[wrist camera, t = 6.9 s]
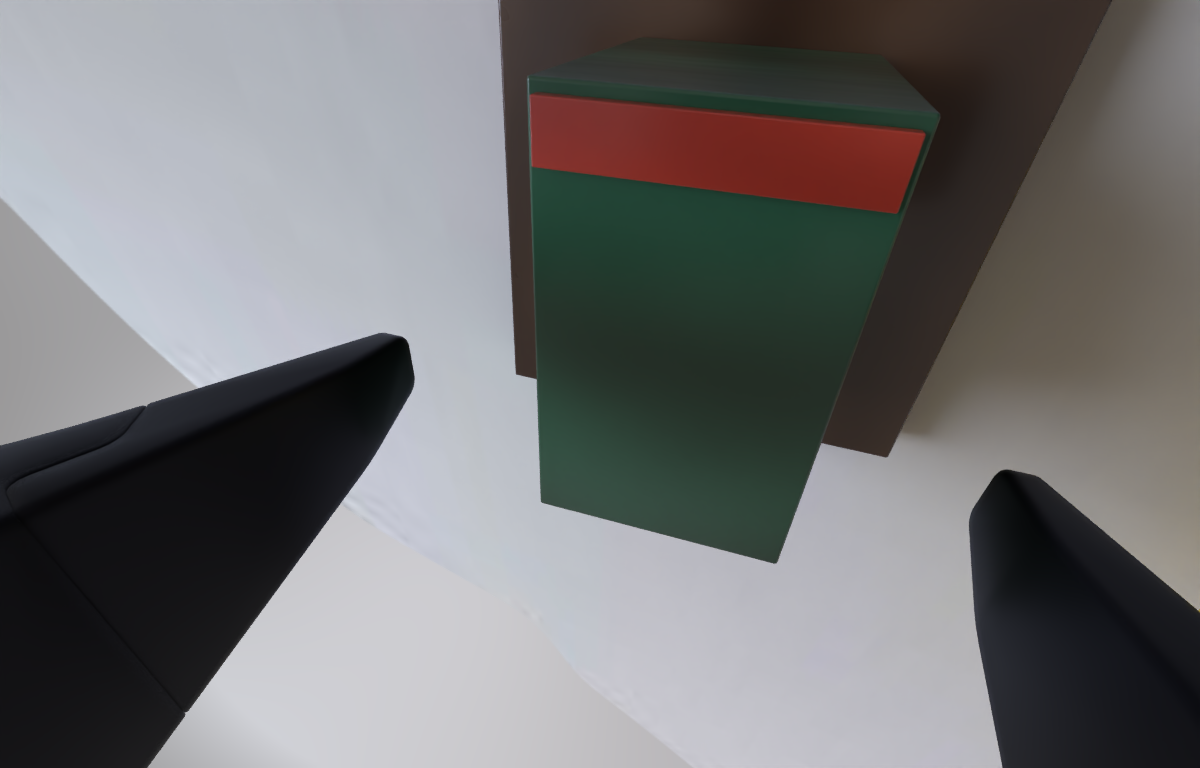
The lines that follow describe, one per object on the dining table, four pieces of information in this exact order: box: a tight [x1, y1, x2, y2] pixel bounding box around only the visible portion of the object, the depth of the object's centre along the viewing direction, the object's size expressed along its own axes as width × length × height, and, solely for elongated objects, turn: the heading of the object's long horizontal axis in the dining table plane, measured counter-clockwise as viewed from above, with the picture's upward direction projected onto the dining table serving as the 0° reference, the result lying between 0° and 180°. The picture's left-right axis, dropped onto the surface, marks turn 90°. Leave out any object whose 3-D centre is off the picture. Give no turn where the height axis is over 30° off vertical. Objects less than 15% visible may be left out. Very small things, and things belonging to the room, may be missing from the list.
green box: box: [527, 37, 940, 564], centre depth 13 cm, size 9×6×7 cm, turn 177°
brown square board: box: [498, 0, 1112, 457], centre depth 16 cm, size 13×13×2 cm
